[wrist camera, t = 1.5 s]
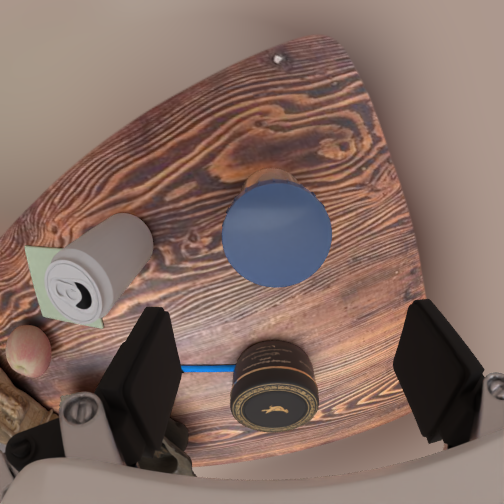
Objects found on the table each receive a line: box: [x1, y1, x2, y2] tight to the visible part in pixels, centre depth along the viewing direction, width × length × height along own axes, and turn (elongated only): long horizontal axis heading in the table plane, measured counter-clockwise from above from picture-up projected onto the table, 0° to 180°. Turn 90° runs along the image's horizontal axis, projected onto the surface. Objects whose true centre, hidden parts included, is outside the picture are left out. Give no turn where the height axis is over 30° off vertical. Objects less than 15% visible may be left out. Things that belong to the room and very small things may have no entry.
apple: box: [6, 325, 51, 378], centre depth 34 cm, size 8×8×8 cm
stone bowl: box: [59, 394, 197, 477], centre depth 39 cm, size 25×25×9 cm
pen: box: [181, 365, 236, 373], centre depth 37 cm, size 1×19×1 cm, turn 96°
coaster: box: [25, 245, 104, 329], centre depth 33 cm, size 11×11×1 cm
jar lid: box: [222, 178, 332, 287], centre depth 19 cm, size 7×7×2 cm
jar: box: [230, 341, 319, 432], centre depth 33 cm, size 10×10×8 cm
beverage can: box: [44, 213, 153, 324], centre depth 25 cm, size 6×6×12 cm
